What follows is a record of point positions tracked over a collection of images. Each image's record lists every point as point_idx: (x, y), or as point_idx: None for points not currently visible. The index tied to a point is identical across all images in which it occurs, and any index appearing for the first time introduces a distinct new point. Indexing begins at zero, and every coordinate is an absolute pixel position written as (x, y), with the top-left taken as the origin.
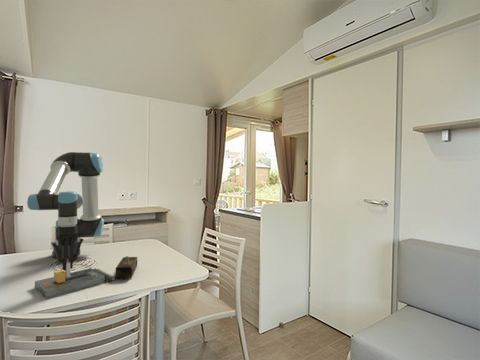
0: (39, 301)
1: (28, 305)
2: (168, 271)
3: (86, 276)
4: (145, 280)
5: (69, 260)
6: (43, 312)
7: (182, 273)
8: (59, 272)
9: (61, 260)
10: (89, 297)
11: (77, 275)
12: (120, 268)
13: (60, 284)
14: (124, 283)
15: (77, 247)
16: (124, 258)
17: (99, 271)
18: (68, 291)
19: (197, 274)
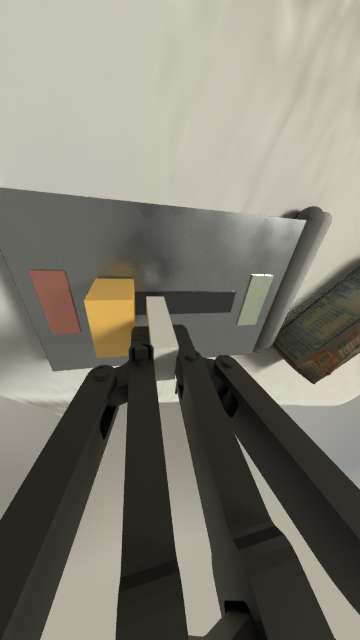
0: (42, 356)
1: (7, 364)
2: (353, 364)
3: (220, 319)
4: (290, 379)
5: (178, 376)
6: (54, 411)
7: (344, 385)
8: (111, 337)
9: (112, 413)
10: (163, 394)
11: (206, 282)
12: (300, 372)
13: None
14: (258, 370)
15: (284, 506)
16: None
17: (289, 282)
18: None
19: (342, 399)
